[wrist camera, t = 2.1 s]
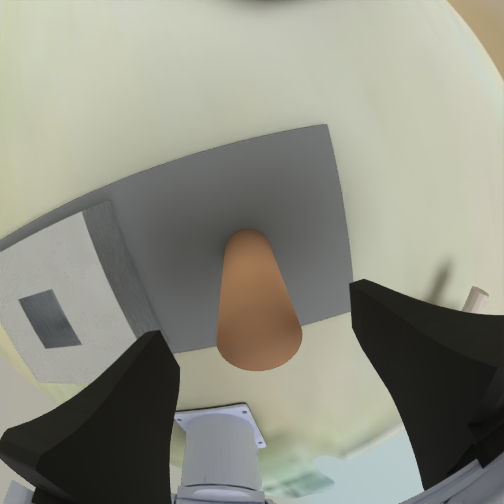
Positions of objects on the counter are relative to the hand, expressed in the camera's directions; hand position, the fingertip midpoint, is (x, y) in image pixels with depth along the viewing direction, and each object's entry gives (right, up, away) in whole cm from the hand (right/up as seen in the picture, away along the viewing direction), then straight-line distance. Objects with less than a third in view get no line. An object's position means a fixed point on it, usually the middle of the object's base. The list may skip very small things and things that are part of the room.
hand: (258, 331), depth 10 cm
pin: (-1, +3, +8) cm, 9 cm away
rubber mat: (-8, +1, +9) cm, 12 cm away
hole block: (-15, -1, +9) cm, 17 cm away
